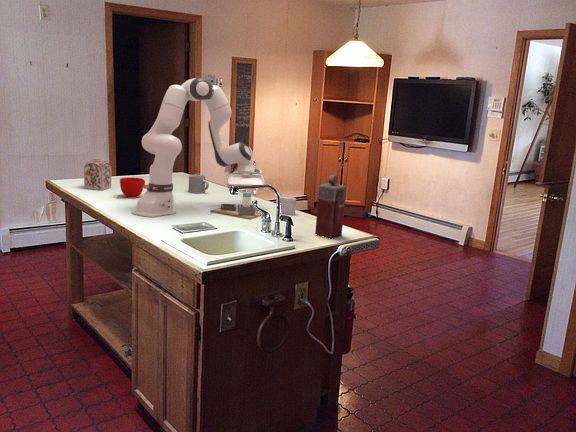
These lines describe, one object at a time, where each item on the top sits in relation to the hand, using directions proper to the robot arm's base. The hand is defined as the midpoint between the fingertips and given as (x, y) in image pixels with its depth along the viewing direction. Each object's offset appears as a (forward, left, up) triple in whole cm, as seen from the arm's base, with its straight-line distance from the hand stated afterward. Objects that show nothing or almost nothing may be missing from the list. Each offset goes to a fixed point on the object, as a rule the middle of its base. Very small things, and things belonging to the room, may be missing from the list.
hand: (245, 194), depth 276 cm
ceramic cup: (-11, +66, -9) cm, 68 cm away
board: (-7, 0, -9) cm, 12 cm away
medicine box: (+11, -20, -9) cm, 24 cm away
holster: (-6, +7, -8) cm, 12 cm away
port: (-8, -6, -8) cm, 13 cm away
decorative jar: (-8, +97, -9) cm, 98 cm away
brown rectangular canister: (-16, -56, -9) cm, 59 cm away
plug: (-8, -6, -8) cm, 13 cm away
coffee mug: (+25, +48, -9) cm, 55 cm away
